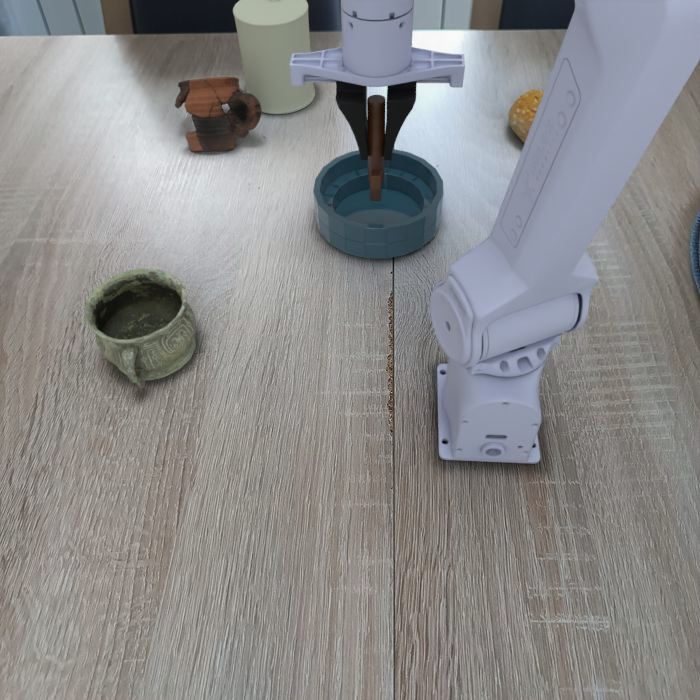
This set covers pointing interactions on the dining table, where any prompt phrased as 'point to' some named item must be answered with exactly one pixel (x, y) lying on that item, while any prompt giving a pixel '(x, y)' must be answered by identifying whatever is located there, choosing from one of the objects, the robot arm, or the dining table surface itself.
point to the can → (273, 51)
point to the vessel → (143, 323)
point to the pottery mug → (217, 112)
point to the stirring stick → (376, 144)
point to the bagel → (524, 113)
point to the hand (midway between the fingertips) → (376, 154)
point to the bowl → (378, 205)
